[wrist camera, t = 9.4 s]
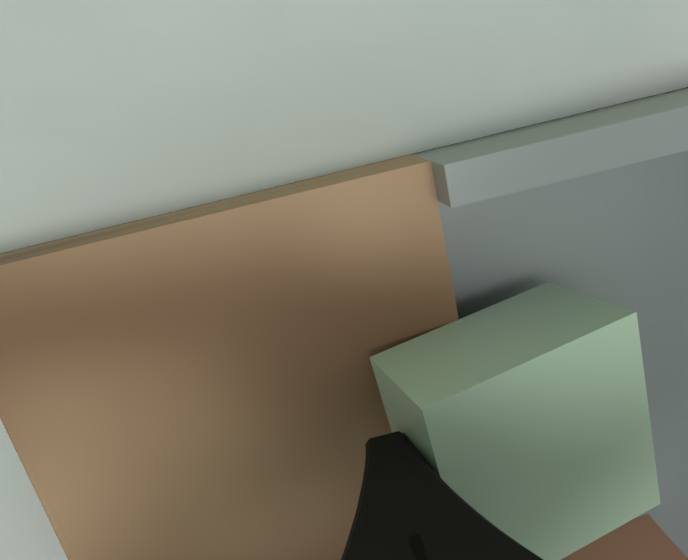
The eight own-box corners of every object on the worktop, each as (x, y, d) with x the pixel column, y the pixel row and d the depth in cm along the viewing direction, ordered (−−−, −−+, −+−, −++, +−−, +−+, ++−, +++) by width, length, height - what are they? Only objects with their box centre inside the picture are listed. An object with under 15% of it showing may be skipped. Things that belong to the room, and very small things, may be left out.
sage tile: (576, 444, 14) (660, 503, 11) (419, 524, 13) (476, 606, 10) (548, 281, 12) (636, 311, 10) (369, 357, 11) (422, 409, 9)
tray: (727, 683, 19) (805, 785, 16) (519, 737, 19) (560, 849, 16) (714, 80, 13) (835, 70, 10) (410, 154, 13) (444, 164, 10)
